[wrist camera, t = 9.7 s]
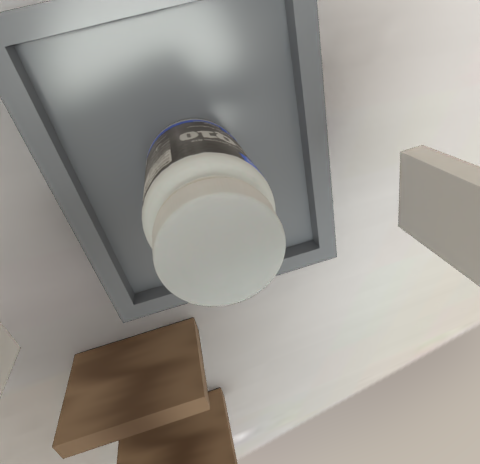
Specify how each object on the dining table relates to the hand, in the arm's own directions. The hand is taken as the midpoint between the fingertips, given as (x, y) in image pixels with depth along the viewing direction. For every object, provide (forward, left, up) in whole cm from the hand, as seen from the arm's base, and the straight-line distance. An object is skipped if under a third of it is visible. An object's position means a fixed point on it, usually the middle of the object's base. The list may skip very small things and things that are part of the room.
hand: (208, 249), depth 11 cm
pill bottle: (0, 0, -8) cm, 8 cm away
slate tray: (0, 0, -9) cm, 9 cm away
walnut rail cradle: (-7, -15, -9) cm, 19 cm away
